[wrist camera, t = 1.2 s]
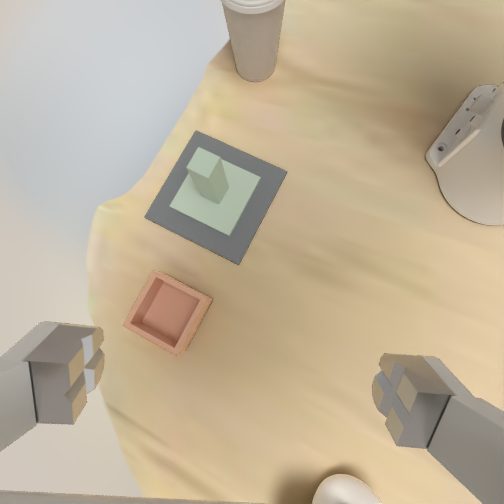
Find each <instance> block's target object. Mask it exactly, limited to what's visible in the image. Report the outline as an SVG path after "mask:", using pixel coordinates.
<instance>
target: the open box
mask: <svg viewBox="0 0 504 504" xmlns="http://www.w3.org/2000/svg"><path fill="white" fill-rule="evenodd" d="M212 300H213V299H212V298H210V297H208V296H206V295H204V294H202V293H201V292H199V291H197V290H195V289H193V288H191V287H189V286H187V285H185V284H183V283H182V282H180V281H178V280H176V279H174V278H172V277H170V276H168V275H166V274H164V273H161V272H159V271H156V270H154V271H153V273H152V275H151V276H150V278H149V280H148V282H147V283H146V285H145V287H144V289H143V290H142V292H141V294H140V296H139V297H138V299H137V301H136V303H135V304H134V306H133V308H132V310H131V311H130V313H129V315H128V317H127V318H126V320H125V322H124V324H123V326H124V327H126V328H128V329H129V330H131V331H133V332H135V333H137V334H138V335H140V336H142V337H144V338H145V339H147V340H149V341H151V342H153V343H154V344H156V345H158V346H160V347H162V348H163V349H165V350H167V351H169V352H170V353H172V354H174V355H176V356H177V355H179V354H181V353H183V352H185V351H186V350H187V348H188V346H189V344H190V342H191V340H192V338H193V336H194V335H195V333H196V331H197V329H198V327H199V325H200V323H201V321H202V319H203V317H204V316H205V314H206V312H207V310H208V308H209V306H210V304H211V302H212Z"/></svg>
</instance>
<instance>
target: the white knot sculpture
mask: <svg viewBox="0 0 504 504" xmlns="http://www.w3.org/2000/svg"><path fill="white" fill-rule="evenodd" d="M312 504H383V503H382V502H381V500H380V499H379V497H378V496H377V495H376V494H375V493H374V491H373V490H372V489H371V488H370V487H369V486H368V485H366V484H365V483H364V482H363V481H361V480H359V479H357V478H356V477H354V476H350V475H347V474H334V475H331V476H329V477H327V478H326V479H324V480H323V481H322V482H321V484H320V485H319V487H318V489H317V491H316V493H315V495H314V497H313V501H312Z"/></svg>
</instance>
